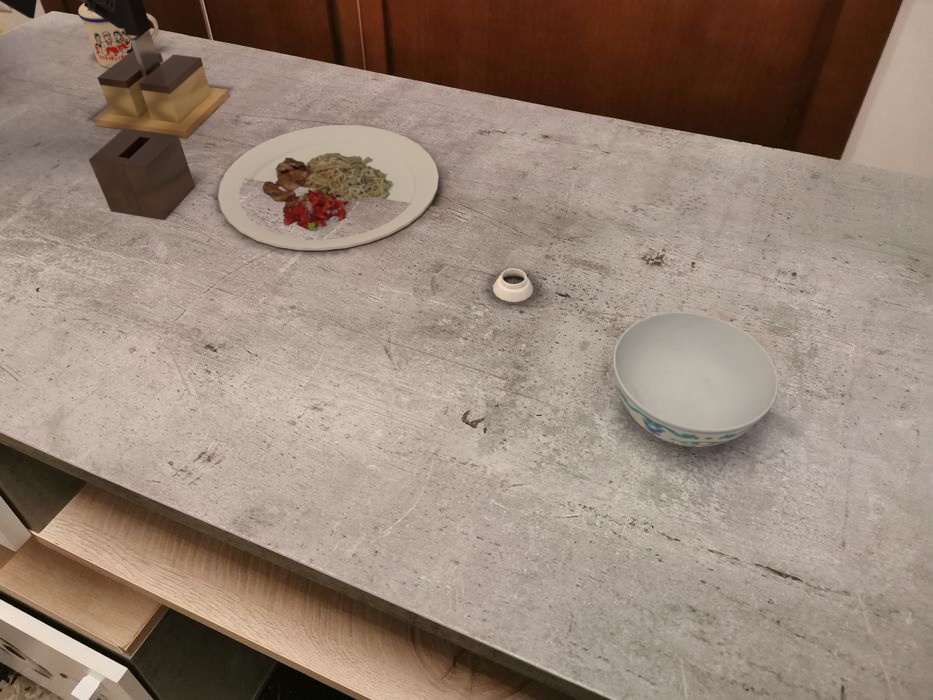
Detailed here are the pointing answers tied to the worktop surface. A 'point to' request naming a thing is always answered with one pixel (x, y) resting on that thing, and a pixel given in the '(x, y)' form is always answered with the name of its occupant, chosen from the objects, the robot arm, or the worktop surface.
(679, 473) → the worktop surface
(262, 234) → the plated food
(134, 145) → the knife block
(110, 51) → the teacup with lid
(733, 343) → the chinaware
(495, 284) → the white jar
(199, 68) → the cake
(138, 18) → the cake knife
